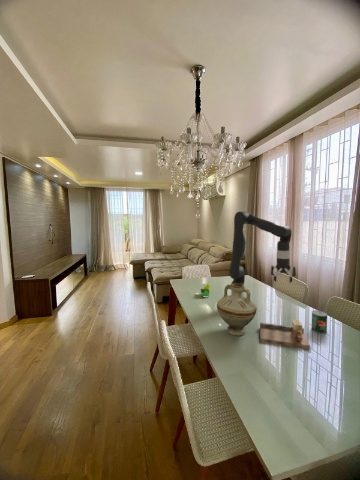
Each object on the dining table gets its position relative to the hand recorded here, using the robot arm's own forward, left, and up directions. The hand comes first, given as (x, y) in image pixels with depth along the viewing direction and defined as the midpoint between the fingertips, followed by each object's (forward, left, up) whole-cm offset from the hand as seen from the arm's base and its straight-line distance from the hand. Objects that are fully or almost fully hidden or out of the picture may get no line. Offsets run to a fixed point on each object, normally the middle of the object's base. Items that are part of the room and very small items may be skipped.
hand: (282, 282), depth 136 cm
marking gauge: (+6, -19, -26) cm, 33 cm away
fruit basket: (-60, +38, -28) cm, 76 cm away
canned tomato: (+20, -3, -28) cm, 35 cm away
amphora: (-28, -18, -28) cm, 44 cm away
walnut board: (-2, -18, -28) cm, 33 cm away
